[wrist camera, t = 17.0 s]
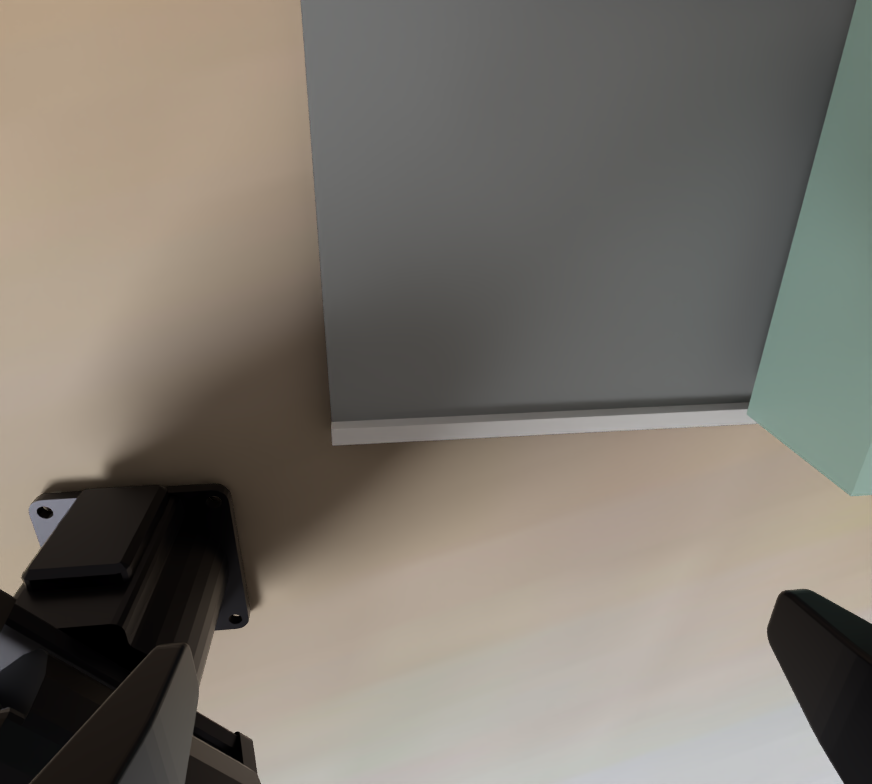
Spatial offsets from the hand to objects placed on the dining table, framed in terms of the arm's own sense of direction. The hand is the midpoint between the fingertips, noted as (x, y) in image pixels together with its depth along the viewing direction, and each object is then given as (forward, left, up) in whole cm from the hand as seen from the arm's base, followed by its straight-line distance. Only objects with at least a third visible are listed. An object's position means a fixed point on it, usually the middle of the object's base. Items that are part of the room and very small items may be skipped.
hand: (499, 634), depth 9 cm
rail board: (+4, -12, -12) cm, 17 cm away
